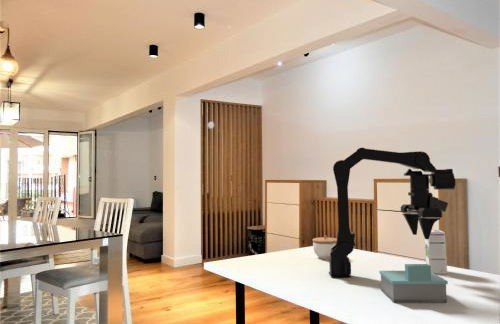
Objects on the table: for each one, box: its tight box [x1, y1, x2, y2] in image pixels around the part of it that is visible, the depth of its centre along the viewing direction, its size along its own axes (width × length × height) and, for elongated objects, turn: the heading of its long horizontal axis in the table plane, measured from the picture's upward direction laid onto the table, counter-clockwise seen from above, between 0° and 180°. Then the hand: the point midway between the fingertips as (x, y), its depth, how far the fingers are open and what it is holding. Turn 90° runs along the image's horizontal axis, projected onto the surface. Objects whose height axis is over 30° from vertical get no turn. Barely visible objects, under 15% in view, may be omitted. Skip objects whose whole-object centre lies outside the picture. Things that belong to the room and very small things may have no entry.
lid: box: [378, 263, 449, 285], centre depth 108 cm, size 15×12×6 cm
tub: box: [380, 274, 448, 304], centre depth 108 cm, size 14×11×5 cm
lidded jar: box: [312, 234, 337, 260], centre depth 162 cm, size 11×11×9 cm
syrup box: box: [424, 229, 448, 275], centre depth 135 cm, size 6×6×14 cm
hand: (420, 236), depth 126 cm, fingers open, 9 cm apart
